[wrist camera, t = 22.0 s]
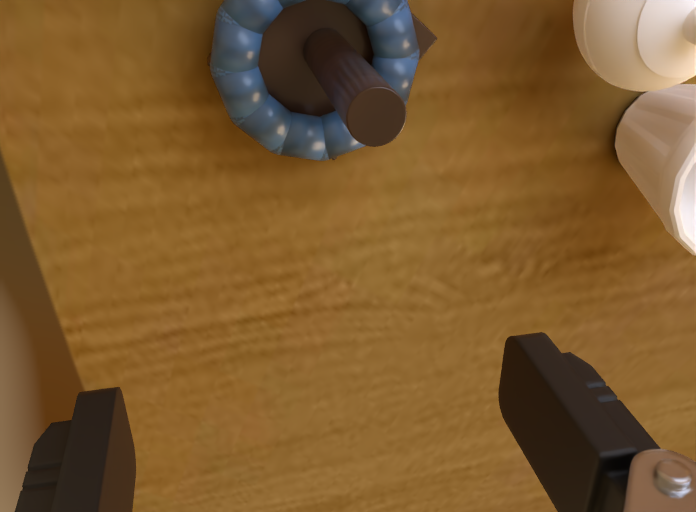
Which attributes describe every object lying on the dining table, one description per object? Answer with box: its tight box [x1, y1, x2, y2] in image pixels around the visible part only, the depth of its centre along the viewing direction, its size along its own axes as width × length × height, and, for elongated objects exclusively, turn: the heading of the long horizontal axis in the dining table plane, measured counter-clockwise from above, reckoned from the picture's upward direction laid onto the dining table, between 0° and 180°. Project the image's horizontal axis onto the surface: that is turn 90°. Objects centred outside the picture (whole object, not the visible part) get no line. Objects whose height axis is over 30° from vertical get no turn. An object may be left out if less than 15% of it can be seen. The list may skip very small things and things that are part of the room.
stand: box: [207, 0, 437, 160], centre depth 31 cm, size 9×9×14 cm
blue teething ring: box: [210, 0, 419, 161], centre depth 35 cm, size 11×11×2 cm
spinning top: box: [573, 0, 696, 92], centre depth 33 cm, size 8×8×12 cm
